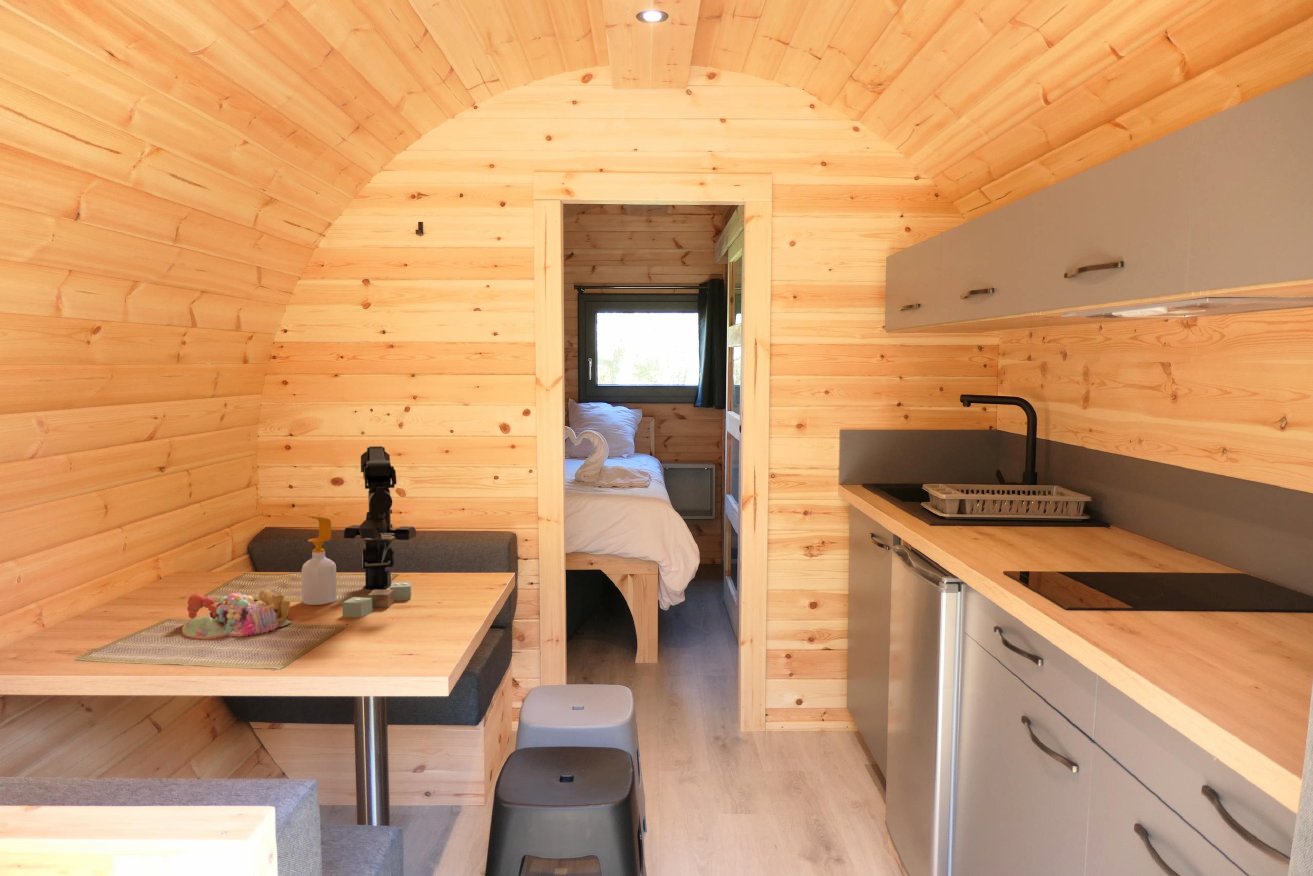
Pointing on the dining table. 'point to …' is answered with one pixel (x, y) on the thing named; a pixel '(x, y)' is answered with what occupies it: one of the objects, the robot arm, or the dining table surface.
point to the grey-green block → (357, 607)
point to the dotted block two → (401, 590)
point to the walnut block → (382, 598)
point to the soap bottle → (319, 570)
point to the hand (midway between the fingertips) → (380, 563)
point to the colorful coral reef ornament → (236, 615)
